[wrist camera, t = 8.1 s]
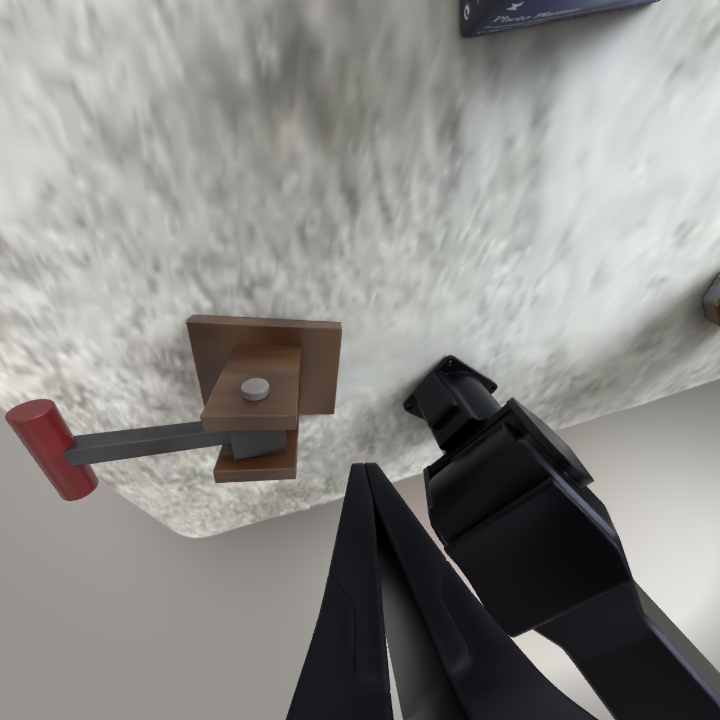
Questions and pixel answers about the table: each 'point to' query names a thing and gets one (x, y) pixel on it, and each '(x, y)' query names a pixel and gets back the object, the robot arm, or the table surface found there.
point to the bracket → (263, 383)
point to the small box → (529, 12)
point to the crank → (117, 444)
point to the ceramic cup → (713, 302)
